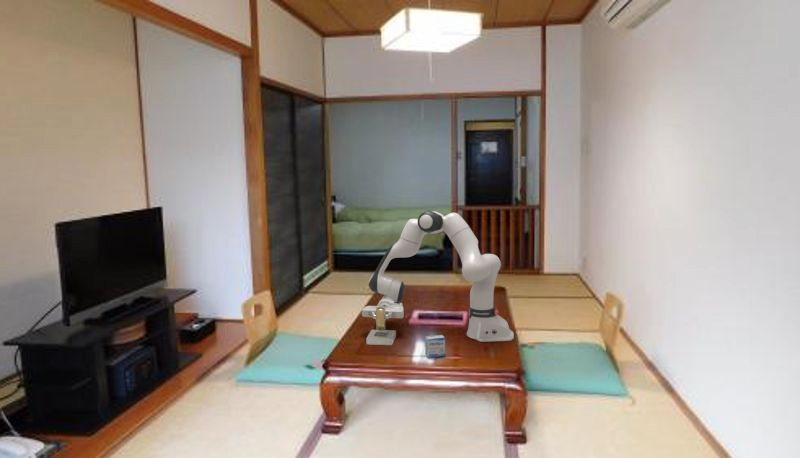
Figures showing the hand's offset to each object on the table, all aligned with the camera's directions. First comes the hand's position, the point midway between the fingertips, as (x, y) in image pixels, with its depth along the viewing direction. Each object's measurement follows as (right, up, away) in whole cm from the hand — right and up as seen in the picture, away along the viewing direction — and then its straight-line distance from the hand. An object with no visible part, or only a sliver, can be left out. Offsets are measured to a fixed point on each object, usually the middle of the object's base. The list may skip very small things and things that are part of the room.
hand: (380, 317), depth 259 cm
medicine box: (+25, -14, -17) cm, 33 cm away
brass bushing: (0, -6, +2) cm, 6 cm away
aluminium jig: (+1, -11, +3) cm, 12 cm away
